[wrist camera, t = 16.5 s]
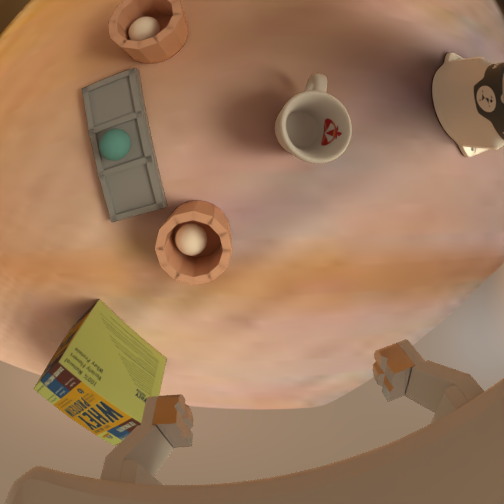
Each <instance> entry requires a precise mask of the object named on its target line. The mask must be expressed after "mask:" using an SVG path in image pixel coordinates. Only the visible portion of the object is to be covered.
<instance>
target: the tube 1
mask: <svg viewBox="0 0 504 504" xmlns="http://www.w3.org/2000/svg"><path fill="white" fill-rule="evenodd" d="M141 17H152V18H154V19H156V20H157V21H158V23H159V25H160V32H159V33H158V34H157V35H156V36H155V37H151V38H148V39H145V40H142V41H133V40H131V39H130V37H129V34H128V32H129V28H130V26H131V24H132V23H133V22H134V21H135V20H137V19H138V18H141ZM108 23H109V34H110V38H111V39H112V40H113V41H115V42H116V43H117V44H118V45H119V46H120V47H121V48H122V49H123V50H124V51H125V52H127V53H128V54H129V55H130V56H131V57H132V58H133V59H134V60H136V61H138V62H141V63H148V64H149V63H158V62H162V61H164V60H167V59H169V58H170V57H172V56H174V55H175V54H176V53H177V52H178V51H179V50H180V49H181V48H182V47H183V45H184V44H185V42H186V40H187V37H188V26H187V22H186V18H185V15H184V11H183V8H182V5H181V1H180V0H125V1H123V2H122V3H121V4H120V5H119V6H117V7H116V9H115V11H114V13H113V15H112V17H111V19H110V21H109V22H108Z"/></svg>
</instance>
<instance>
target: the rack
mask: <svg viewBox="0 0 504 504" xmlns="http://www.w3.org/2000/svg"><path fill="white" fill-rule="evenodd" d="M82 94H83V98H84V105H85V111H86V117H87V123H88V128H89V130H88V132H89V136H90V139H91V144H92V148H93V153H94V158H95V162H96V166H97V170H98V177H99V179H100V183H101V186H102V190H103V194H104V198H105V201H106V205H107V208H108V212H109V215H110V221H111V223H112V222H115V221H119V220H122V219H126V218H129V217H133V216H136V215H140V214H144V213H147V212H151V211H155V210H159V209H163V208H165V207H167V206H168V205H167V201H166V197H165V193H164V189H163V185H162V181H161V177H160V173H159V169H158V164H157V160H156V156H155V151H154V147H153V142H152V138H151V133H150V128H149V123H148V118H147V113H146V108H145V103H144V98H143V92H142V87H141V81H140V75H139V70H138V69H137V68H132V69H129V70H126V71H124V72H121V73H118V74H116V75H113V76H111V77H108V78H106V79H103V80H101V81H98V82H96V83H94V84H91V85H89V86H87V87H85V88H82ZM111 129H122V130H124V131H125V132H126V133H127V134H128V135H129V137H130V141H131V146H130V149H129V152H128V153H127V155H126V156H125V157H123V158H122V159H120V160H117V161H110V160H107V159H105V158H104V157H103V156H102V155H101V153H100V150H99V142H100V139H101V137H102V136H103V135H104V134H105V133H106V132H107V131H109V130H111Z"/></svg>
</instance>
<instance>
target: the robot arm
mask: <svg viewBox="0 0 504 504" xmlns="http://www.w3.org/2000/svg"><path fill="white" fill-rule="evenodd" d="M432 96H433V103H434V107H435V111H436V114H437V116H438V119H439V121H440V123H441V125H442V127H443V128H444V130H445V131H446V132H447V134H448V135H449V136H450V137H451V138H452V139H453V140H454V141H455V142H456V143H457V144H458V146H459V148H460V150H461V152H462V154H463V155H464V156H465V157H471V156H474V155H476V154H479V153H481V152H484V151H486V150H489V149H492V150H498V148H499V147H502V146H504V63H497V64H491V63H490V62H489V61H488V60H485V59H484V58H483V57H474V58H465V59H464V58H462V57H461V56H459V55H457V54H455V53H447V54H446V57H445V60H444V64H443V65H442V66H441V67H440V68H439V69H438V70H437V72H436V73H435V76H434V79H433V84H432ZM374 358H375V360H376V362H375V363H374V364H373V374H374V378H375V380H376V382H377V384H378V385H381V386H383V388H382V392H383V394H384V396H385V397H386V399H387V401H388V402H389V401H392V400H394V399H397V398H399V397H402V396H404V395H405V396H406V397H407V398H409V399H411V400H413V401H415V402H416V403H418V404H420V405H422V406H424V407H425V408H427V409H429V410H431V411H433V412H435V415H434V417H433V419H432V422H431V424H429V425H427V426H426V427H424V428H421V429H419V430H417V431H415V432H413V433H411V434H409V435H407V436H405V437H403V438H400V439H398V440H396V441H393V442H391V443H389V444H386V445H383V446H381V447H378V448H376V449H373V450H371V451H368V452H365V453H362V454H360V455H356V456H353V457H350V458H348V459H345V460H341V461H338V462H334V463H331V464H327V465H324V466H320V467H316V468H312V469H309V470H304V471H300V472H295V473H291V474H286V475H281V476H275V477H270V478H264V479H257V480H250V481H242V482H233V483H222V484H209V485H208V484H207V485H162V484H161V483H160V482H159V481H158V480H157V479H156V478H155V477H154V476H155V474H156V473H157V472H158V470H159V469H160V467H161V466H162V464H163V463H164V462H165V460H166V459H167V457H168V456H169V455H170V453H171V452H172V450H173V448H175V447H189V446H192V437H193V434H192V432H191V431H190V429H191V428H192V427H193V415H192V411H191V409H190V408H189V406H188V405H186V404H185V398H184V397H183V395H166V396H152V397H148V398H147V399H146V403H145V408H144V412H143V417H142V421H141V425H138V426H137V427H136V428H135V429H134V430H133V431H132V432H131V433H130V434H129V435H128V436H127V437H126V438H125V439H124V440H123V441H122V442H121V443H120V444H119V445H118V446H117V447H115V448H114V449H113V450H112V451H111V452H110V453H109V454H108V455H107V456H106V458H105V462H104V466H103V470H102V474H101V478H100V479H95V478H89V477H84V476H79V475H74V474H69V473H65V472H60V471H57V470H53V469H49V468H46V467H42V466H36V467H34V468H32V469H30V470H29V471H28V472H26V473H25V474H24V475H22V476H21V477H19V478H18V479H17V480H16V481H15V482H14V483H13V485H12V487H11V489H10V491H9V493H8V496H7V498H6V501H5V503H4V504H504V378H503V379H501V380H500V381H499V382H497V383H496V384H495V385H493V386H492V387H490V388H489V389H488V390H486V391H485V392H484V390H483V389H482V388H481V387H480V386H479V385H478V383H477V382H476V381H475V380H474V379H473V377H471V375H470V374H467V373H463V372H460V371H458V370H455V369H452V368H449V367H446V366H443V365H440V364H437V363H434V362H432V361H429V360H428V361H425V360H424V359H423V358H422V357H421V355H420V354H419V353H418V352H417V351H416V349H415V348H414V347H413V346H412V345H411V343H410V342H409V341H408V340H403V341H401V342H398V343H396V344H392V345H390V346H387V347H384V348H382V349H379V350H376V351H375V353H374Z"/></svg>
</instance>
